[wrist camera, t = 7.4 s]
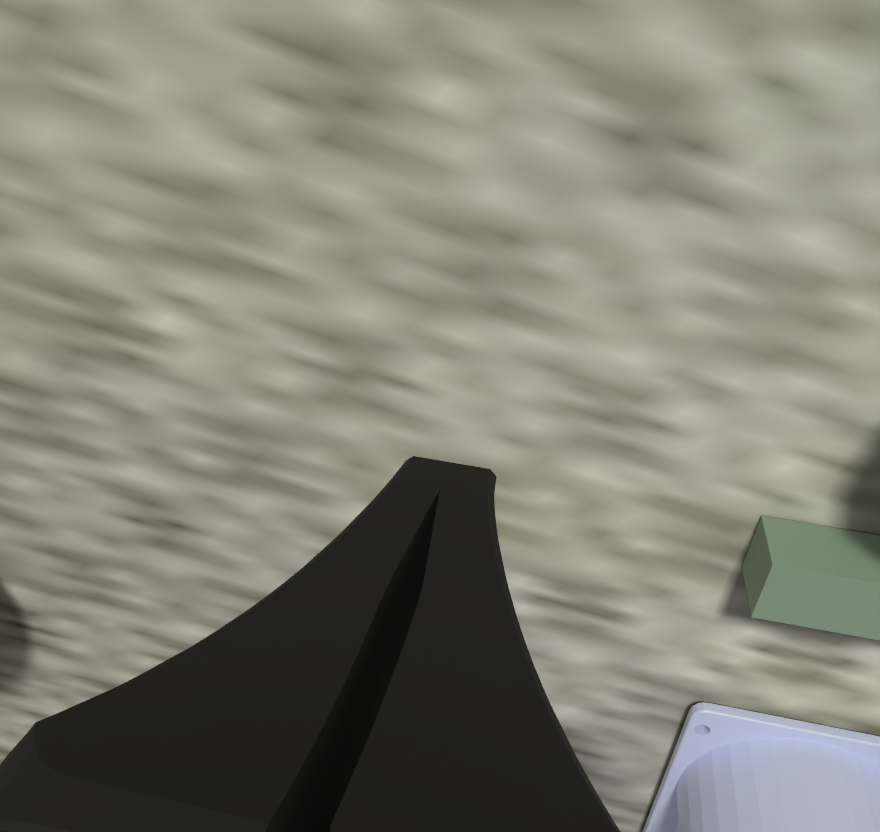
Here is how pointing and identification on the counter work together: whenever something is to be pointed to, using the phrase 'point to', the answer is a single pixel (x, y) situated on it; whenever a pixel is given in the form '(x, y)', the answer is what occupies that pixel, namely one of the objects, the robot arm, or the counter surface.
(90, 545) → the counter surface
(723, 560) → the counter surface
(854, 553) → the chute bay
